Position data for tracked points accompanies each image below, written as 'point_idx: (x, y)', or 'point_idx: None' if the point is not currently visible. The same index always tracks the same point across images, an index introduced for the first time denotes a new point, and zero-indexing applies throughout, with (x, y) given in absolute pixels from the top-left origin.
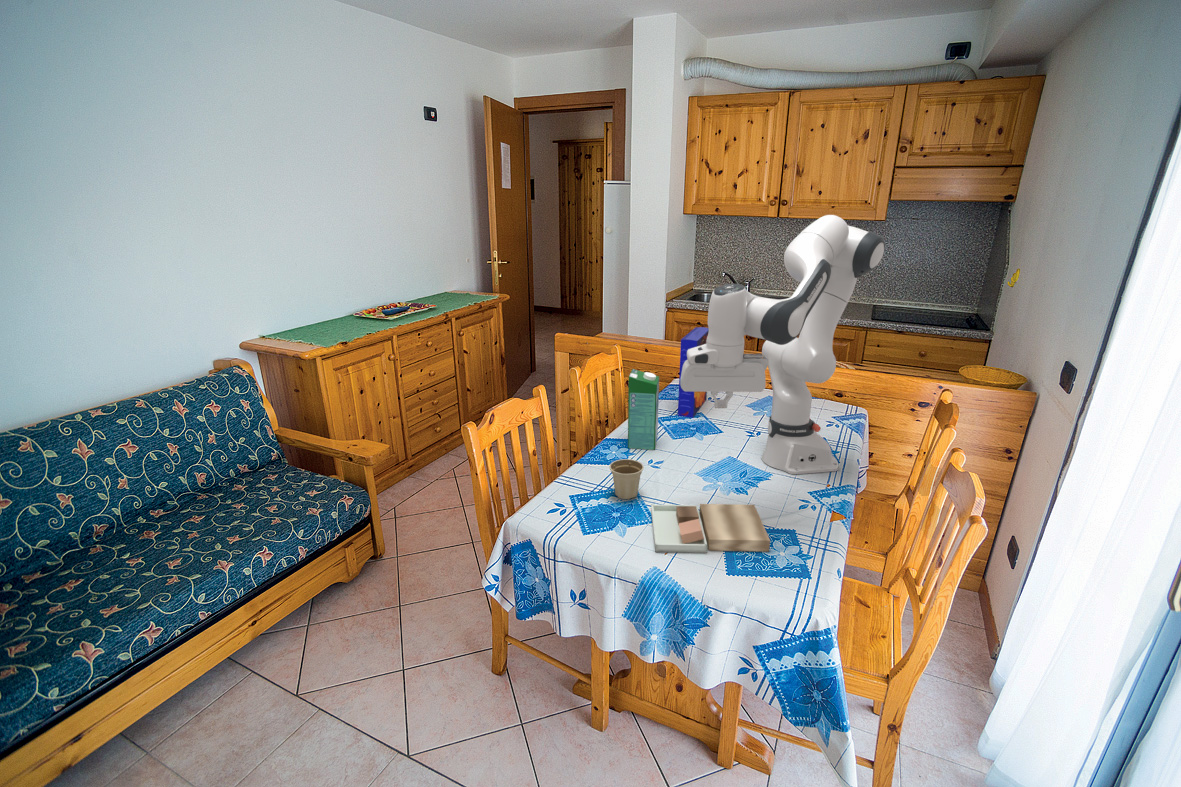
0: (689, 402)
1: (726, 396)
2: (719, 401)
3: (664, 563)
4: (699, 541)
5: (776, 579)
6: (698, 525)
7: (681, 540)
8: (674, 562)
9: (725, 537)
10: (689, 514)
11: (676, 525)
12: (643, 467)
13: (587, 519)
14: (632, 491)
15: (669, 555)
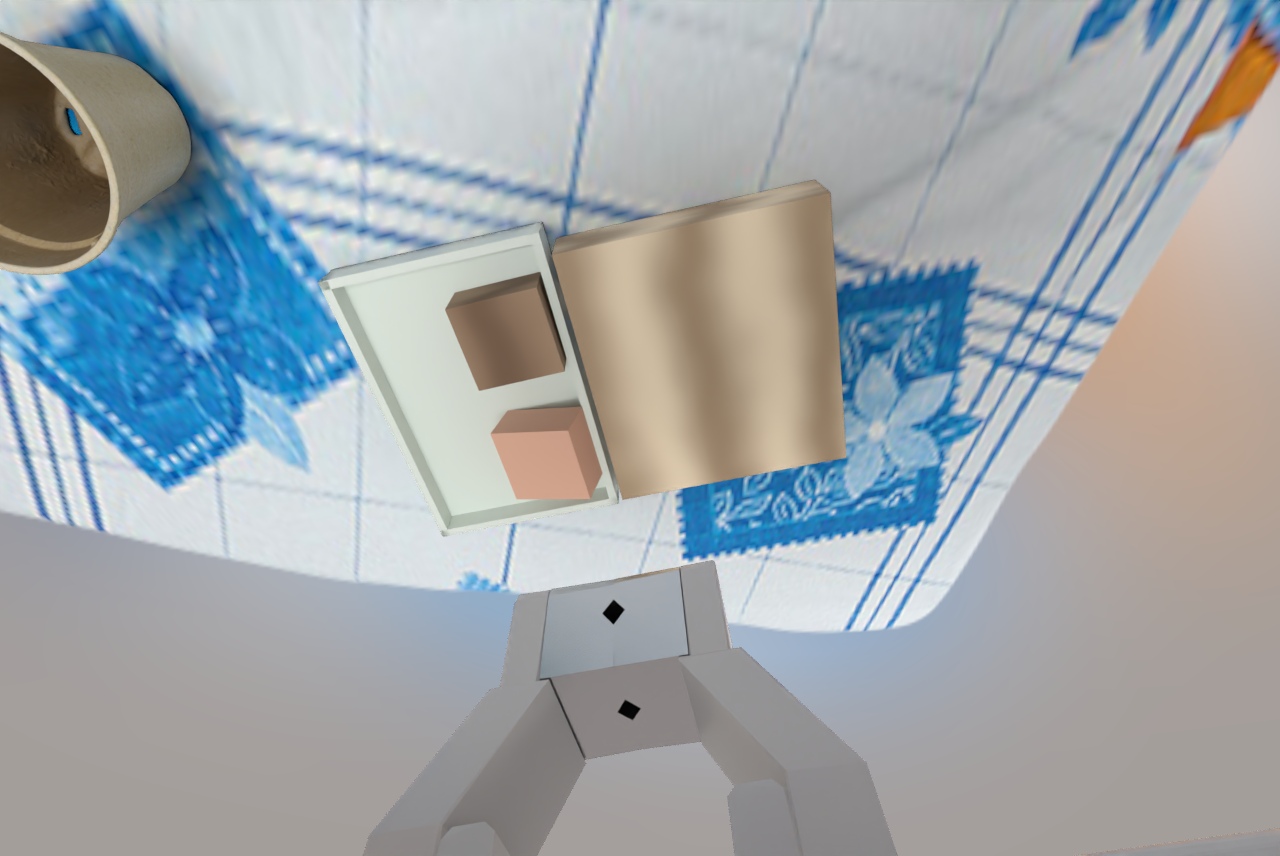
0: None
1: (739, 745)
2: (603, 740)
3: (494, 556)
4: None
5: (828, 547)
6: (574, 470)
7: None
8: (523, 546)
9: (681, 476)
10: (520, 362)
11: None
12: (102, 142)
13: (107, 397)
14: (161, 190)
15: None
